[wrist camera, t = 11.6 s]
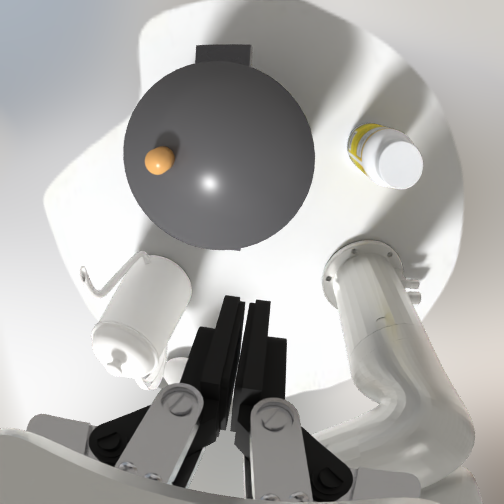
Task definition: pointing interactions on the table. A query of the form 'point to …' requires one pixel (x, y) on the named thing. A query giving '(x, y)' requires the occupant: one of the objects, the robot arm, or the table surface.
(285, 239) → the table surface
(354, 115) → the table surface
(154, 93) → the cooker lid
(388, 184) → the pill bottle
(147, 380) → the coffeepot
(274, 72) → the table surface
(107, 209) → the table surface
